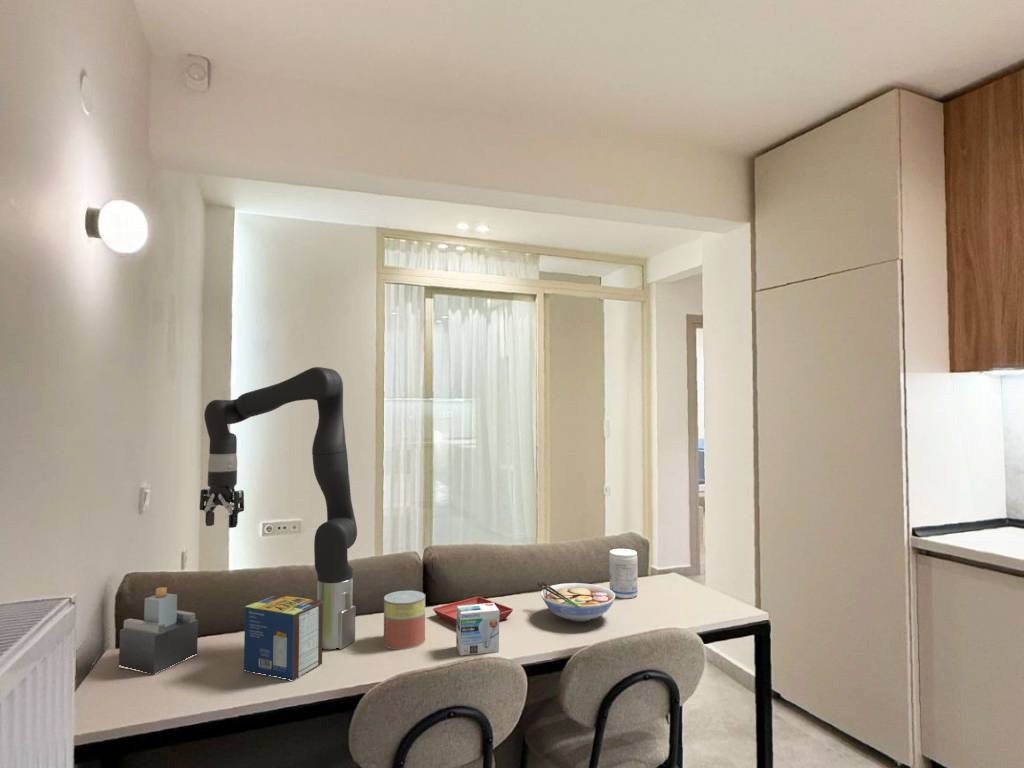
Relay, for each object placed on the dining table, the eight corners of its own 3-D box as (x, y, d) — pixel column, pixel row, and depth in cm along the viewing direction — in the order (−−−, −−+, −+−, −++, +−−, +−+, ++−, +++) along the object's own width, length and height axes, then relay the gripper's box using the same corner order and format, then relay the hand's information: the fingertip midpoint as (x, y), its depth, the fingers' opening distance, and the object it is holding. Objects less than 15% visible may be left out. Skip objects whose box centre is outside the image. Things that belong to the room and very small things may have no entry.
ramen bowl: (633, 626, 168) (632, 598, 169) (562, 638, 160) (562, 608, 160) (590, 601, 192) (590, 576, 192) (527, 610, 183) (527, 584, 184)
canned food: (431, 635, 162) (432, 592, 163) (414, 651, 151) (414, 604, 152) (395, 631, 165) (395, 589, 166) (375, 647, 154) (376, 601, 155)
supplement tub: (608, 590, 204) (608, 548, 205) (636, 591, 203) (635, 548, 204) (610, 598, 194) (610, 554, 195) (639, 599, 193) (638, 555, 194)
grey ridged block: (197, 655, 149) (198, 611, 150) (153, 675, 138) (155, 627, 138) (163, 649, 153) (164, 606, 154) (118, 667, 142) (120, 621, 143)
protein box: (274, 655, 149) (275, 593, 150) (322, 664, 144) (323, 600, 145) (242, 671, 140) (243, 606, 140) (292, 682, 134) (293, 613, 135)
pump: (176, 622, 147) (177, 586, 148) (158, 629, 143) (159, 592, 143) (162, 620, 149) (163, 584, 150) (143, 627, 144) (145, 590, 145)
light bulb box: (459, 656, 148) (460, 613, 149) (455, 646, 154) (455, 605, 155) (500, 652, 151) (500, 609, 151) (494, 642, 157) (494, 601, 158)
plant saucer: (431, 618, 177) (431, 607, 177) (478, 605, 189) (478, 595, 189) (466, 635, 163) (466, 623, 164) (514, 620, 175) (514, 609, 175)
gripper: (252, 469, 167) (250, 525, 166) (214, 467, 172) (213, 522, 171) (231, 471, 160) (229, 530, 159) (192, 469, 165) (191, 527, 164)
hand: (221, 526), depth 165 cm, fingers open, 8 cm apart
